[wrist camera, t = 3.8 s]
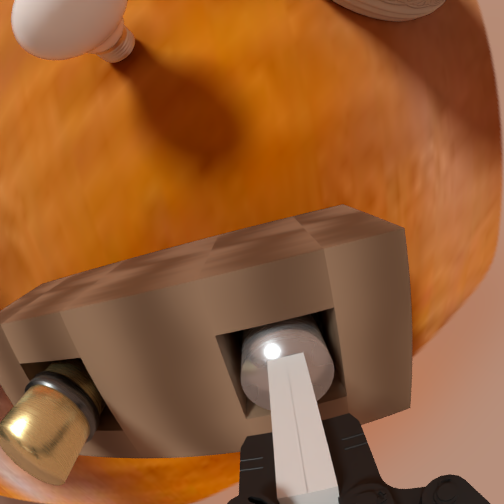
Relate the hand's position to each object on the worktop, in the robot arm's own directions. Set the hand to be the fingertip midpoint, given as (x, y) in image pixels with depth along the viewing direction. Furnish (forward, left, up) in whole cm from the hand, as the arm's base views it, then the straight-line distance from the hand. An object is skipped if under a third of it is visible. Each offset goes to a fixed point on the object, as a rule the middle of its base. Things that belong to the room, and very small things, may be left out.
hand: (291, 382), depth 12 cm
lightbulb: (-6, +20, -10) cm, 23 cm away
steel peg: (0, 0, -8) cm, 8 cm away
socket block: (-6, 0, -10) cm, 12 cm away
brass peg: (-12, 0, -4) cm, 13 cm away
